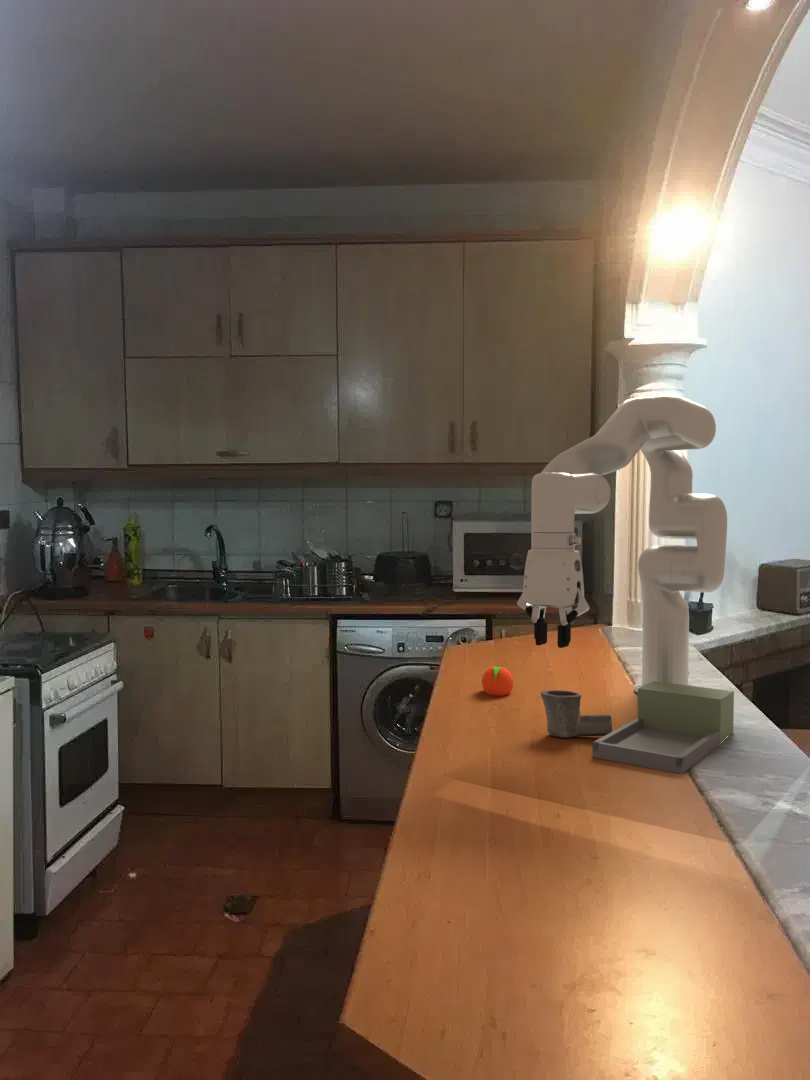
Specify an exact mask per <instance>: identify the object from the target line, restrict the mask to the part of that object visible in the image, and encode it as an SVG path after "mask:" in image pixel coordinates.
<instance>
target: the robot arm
mask: <svg viewBox="0 0 810 1080" xmlns="http://www.w3.org/2000/svg"><path fill="white" fill-rule="evenodd" d="M715 420H716V419H715V418H714V415H713V413H712V412H711V411H710V410H709V409H708V408H707V407H705V406H704V405H702V404H700V403H697V402H694V401H692V400H690V399H688V398H686V397H684V396H683V397H682V396H679V395H676V394H661V395H659V394H658V395H651V396H637V397H633V398H632V397H631V398H629V399H626V400H625V401H623V402H622V403H621V404H619V406H617V408H616V409H615V411H613V413H612V414H611V415H610V417H609V418H608V419H607V421H606V422H604V423H603V425H602V426H601V427H600V428H599V430H598V431H597V432H596V433H595V434H594V435H593V436H591V437H589V438H587V439H586V438H585V440H582V441H581V442H579V443H577V444H576V445H574V446H572V447H570V448H568V449H566V450H564V451H563V452H560V453H559V454H557V456H555V457H554V458H553V459H551V460H550V461H549V462H548V463H547V465H546V466H545V467H544V468H543V469H542V471H541V472H540V473H539V472H538V473H536V474H535V475H534V476H533V477H532V479H531V518H530V519H531V530H530V531H531V533H530V534H531V539H530V541H531V545H530V546H531V547H530V549H528V551H527V554H526V559H525V564H524V565H525V566H524V574H523V587H522V593H521V595H520V597H519V598H518V600H517V602H516V604H517V606H518V607H519V608H521V609H522V610H523V611H525V613H526V614H527V615H528V617H530V619H531V622H532V623H534V624H533V625H534V627H533V629H534V630H533V633H534V634H533V635H534V636H533V638H534V640H535V645H536V646H541V645H545V644H547V643H548V622H547V621H546V620H545V618H546V612H547V607H548V608H549V607H550V608H558V614H559V619H560V620H559V621H560V624H558V626H557V648H559V649H563V648H566V647H567V648H568V647H569V646H570V643H571V639H572V638H571V637H572V632H571V631H572V630H571V629H572V628H571V627H572V625H573V623H574V622H575V621H576V620H577V619H578V618H579V616H581V615H583V614H585V613H586V612H588V611H590V605H589V603H588V602H587V600H586V598H585V585H584V572H583V565H582V559H581V555H580V550H575V548H576V546H577V545H581V544H582V537H581V536H577V535H576V532H575V515H578V514H579V515H580V514H581V515H583V514H584V515H585V514H586V515H587V514H589V515H590V514H596V513H599V512H600V511H603V509H605V508H606V507H607V506H608V503H609V502H610V499H611V495H612V494H611V487H610V483H609V482H608V480H607V478H605V476H604V475H609V474H610V473H614V472H617V471H620V470H621V469H623V468H626V467H627V466H628V465H629V464H630V463H631V462H632V460H633V459H634V457H636V454H637V453H639V451H641V453H642V454H643V456H644V458H645V459H646V462H647V465H648V466H649V470H650V494H649V496H650V497H649V507H648V508H649V509H648V526H649V527H648V528H649V530H650V532H651V534H652V535H654V536H656V537H659V538H661V539H671V540H674V539H676V540H696V545H684V544H683V545H681V544H680V545H679V544H656V545H652V546H649V547H647V548H645V549H644V550H643V551H642V552H641V554H640V555H639V558H638V563H637V569H638V575H639V582H640V587H641V588H640V589H641V596H642V599H641V600H642V631H641V633H642V635H641V636H642V638H641V640H642V641H641V642H642V643H641V647H642V648H641V649H642V650H641V651H642V653H641V658H642V659H641V681H640V682H636V683H635V684H634V686H633V687H634V692H636V693H637V694H638V688H640V687H642V686H644V685H646V684H648V683H651V682H653V681H657V682H665V683H673V684H681V685H689V686H692V685H690V684H689V676H690V670H689V651H690V650H689V648H690V647H689V645H690V642H689V641H690V637H689V636H690V635H689V634H690V611H689V607H688V604H687V602H686V600H685V598H684V596H683V595H682V594H681V592H693V593H712V592H715V591H717V590H718V589H719V588H720V587H721V586H722V583H723V580H724V578H725V577H724V576H725V569H726V566H725V565H726V552H727V537H728V535H727V534H728V513H727V508H726V505H725V502H723V500H722V498H720V497H719V496H717V495H715V494H710V493H693V478H694V477H693V475H694V474H693V469H692V466H691V464H690V463H689V461H688V460H687V458H686V457H685V456H684V454H683V453H682V452H681V451H683V450H701V449H704V448H707V447H708V446H709V445H711V443H712V442H713V440H714V438H715V436H716V433H717V432H716V431H717V424H716V421H715ZM573 606H574V607H575V606H576V608H575V609H573Z"/></svg>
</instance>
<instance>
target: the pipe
mask: <svg viewBox="0 0 810 1080" xmlns="http://www.w3.org/2000/svg"><path fill="white" fill-rule="evenodd" d="M540 696H541V699H542V701H543V706H544V709H545V714H546V724H547V725H546V729H547V730H546V731H547V733H548V734H549V735H550V736H551V737H554V738H563V739H564V738H567V739H569V738H573V737H603V736H605V735H607V734H609V733H611V732H612V731H613V721H612V720H613V718H612V716H611V715H610V714H589V715H587V714H581V712H580V711H581V710H580V709H581V707H580V706H581V699H582V694H581V693H579V692H575V691H572V690H564V689H563V690H561V689H552V690H551V689H550V690H549V689H548V690H542V691H540Z"/></svg>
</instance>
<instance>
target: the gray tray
mask: <svg viewBox="0 0 810 1080" xmlns="http://www.w3.org/2000/svg"><path fill="white" fill-rule="evenodd" d="M689 685H690V684H688V685H681V684H673V683H665V682H657V681H653V682H651V683H648V684H646V685H644V686H642V687H640V688H638V693H637V717H636V718H634V719H632V720H631V721H629V722H628V723H625V724H623V725H622V726H620V727H618V728H616V729H614V730H612V732H611V733H609V734H607V735H605V736H600V738H597V739H596V740H594V741H592V756H591V757H592V758H596V759H600V760H606V761H612V762H617V763H622V764H627V765H631V766H632V765H633V766H636V767H637V766H638V767H642V768H643V767H644V768H650V769H653V770H659V771H664V772H665V771H666V772H669V773H675V774H680V775H683V774H684V773H685V772H687V771H688V770H689V769H690V768H692V767H693V766H694V765H696V764H697V763H698V762H699V761H701V760H702V759H703V758H705V757H706V756H707V755H709V754H710V753H711V752H712V751H714V750H715V749H717V746H718V745H719V744H720V743H721V742H722V741H723V740H724V739H725V738H726V737H727V736H729V735H730V734H731V733H732V732H733V733H734V714H735V713H734V709H735V707H734V706H735V703H734V702H735V700H734V699H735V690H734V691H733V690H728V689H727V690H725V689H719V688H712V687H711V688H710V687H704V686H703V687H702V686H695V685H691V686H689ZM733 733H732V734H733ZM732 734H731V735H732ZM731 735H730V736H731ZM730 736H729V737H730ZM720 745H721V744H720ZM720 745H719V746H720ZM719 746H718V747H719Z"/></svg>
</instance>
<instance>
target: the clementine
mask: <svg viewBox="0 0 810 1080" xmlns="http://www.w3.org/2000/svg"><path fill="white" fill-rule="evenodd" d="M481 678H482V679H481V687H482V689H483V691H484V692H485V694H487V695H488V696H492V697H493V696H496V697H498V696H499V697H500V696H501V697H502V696H506V695H509V694H510V693H511V692H512V690H513V688H514V683H515V682H514V677H513V675H512V672H510V670H508V669H507V668H506V667H504V666H499V665H496V666H490V667H489V668H488V669H486V671H484V673H483V675H482V676H481Z"/></svg>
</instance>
